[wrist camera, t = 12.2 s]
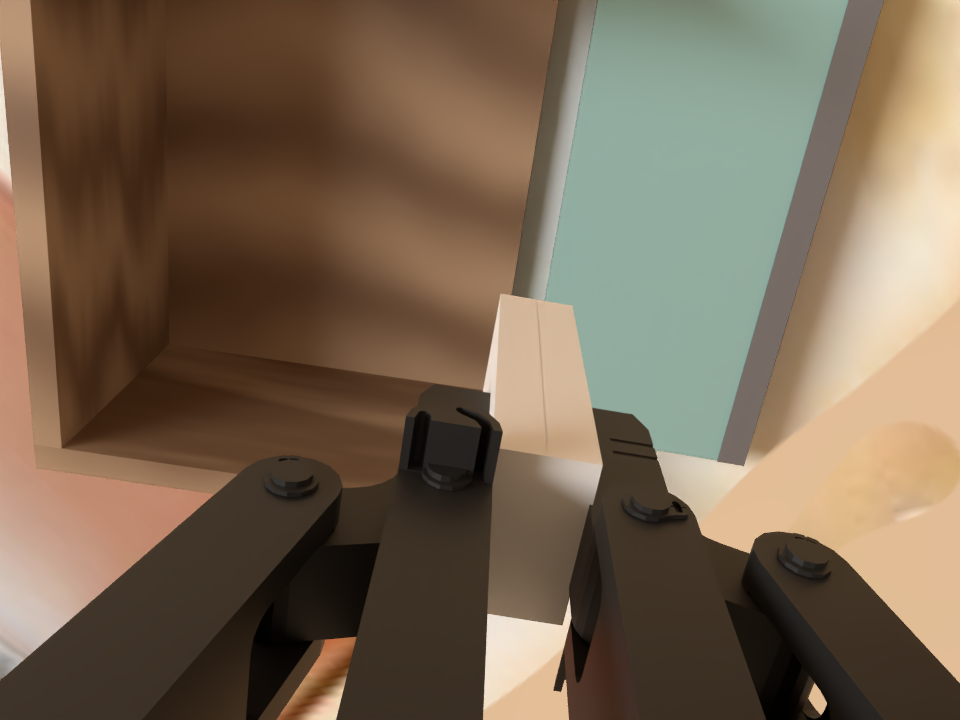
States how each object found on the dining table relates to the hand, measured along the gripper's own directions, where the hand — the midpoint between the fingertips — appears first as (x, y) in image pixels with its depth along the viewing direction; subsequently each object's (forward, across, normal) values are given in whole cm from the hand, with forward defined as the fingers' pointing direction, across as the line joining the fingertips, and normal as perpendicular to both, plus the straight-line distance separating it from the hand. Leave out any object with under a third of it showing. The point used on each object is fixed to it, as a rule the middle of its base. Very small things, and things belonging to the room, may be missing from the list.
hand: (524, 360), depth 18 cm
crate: (+21, +7, +1) cm, 22 cm away
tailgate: (+20, -2, 0) cm, 20 cm away
